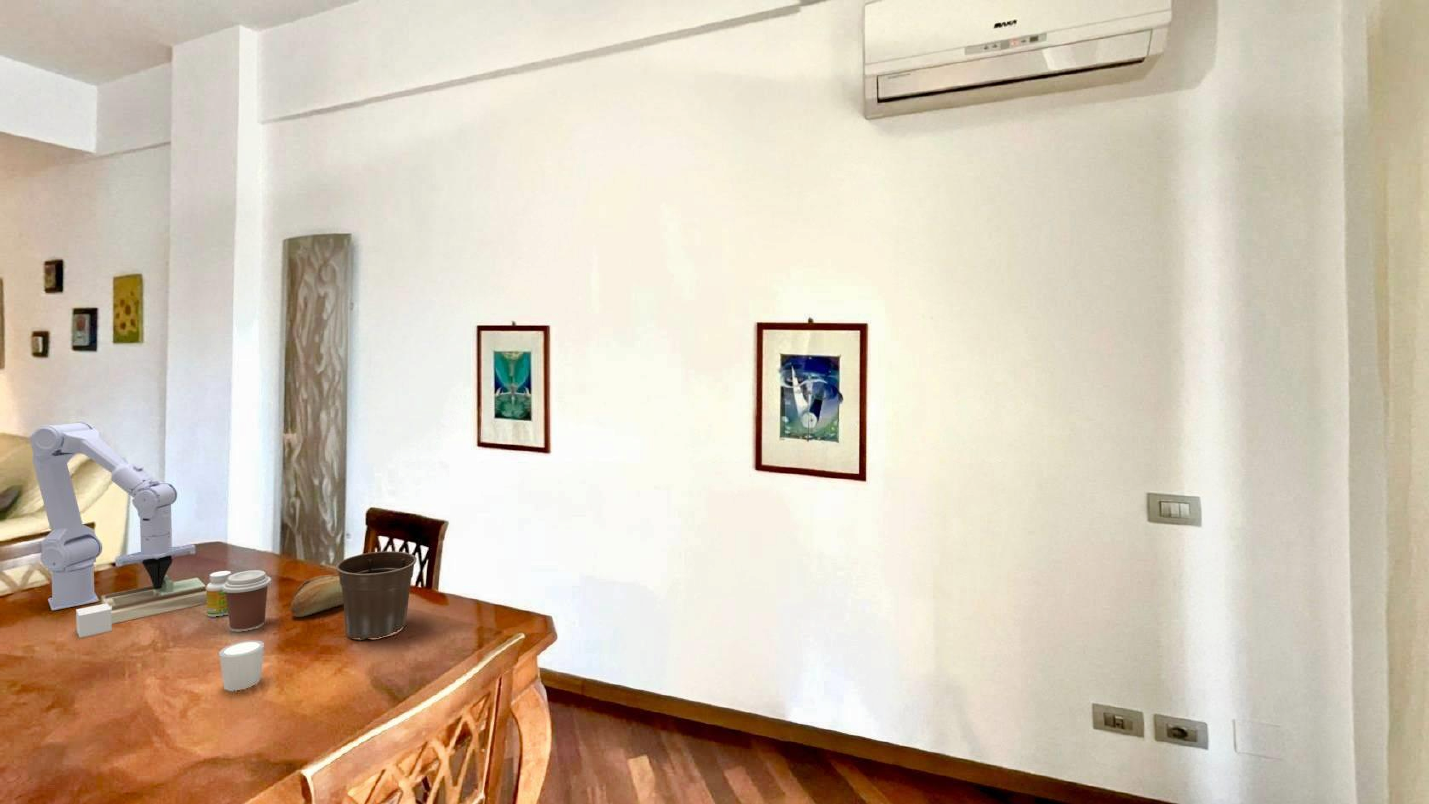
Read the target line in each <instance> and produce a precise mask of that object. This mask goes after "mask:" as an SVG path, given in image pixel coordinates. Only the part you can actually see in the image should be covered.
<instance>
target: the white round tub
mask: <svg viewBox="0 0 1429 804" xmlns="http://www.w3.org/2000/svg"><path fill="white" fill-rule="evenodd" d="M264 648H265V643H264V642H263V641H261V640H245V641H244V640H243V641H240V642H235V643H232V644H229V645H227V646H225V647H224V648H222V649H221V650H220V651H219V653H218V654H219V655H218V656H219V661H220V669H221V674H222V683H223V690H225V689H226V690H225V691H227V690H228V691H227V692H237V690H240V689H244V690H247V689H246V688H248V687H250V688H252V687H251V686H253V685H254V684H256V685H258V684H259V683H260V682H259V680H260V679H262V670H263V662H264V661H263V659H264V650H265V649H264ZM258 682H259V683H258ZM257 683H258V684H257ZM253 687H254V686H253ZM248 689H249V688H248ZM234 690H235V691H234ZM240 691H241V690H240Z"/></svg>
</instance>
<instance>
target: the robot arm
mask: <svg viewBox="0 0 1429 804" xmlns="http://www.w3.org/2000/svg"><path fill="white" fill-rule="evenodd" d="M92 425H93V424H92ZM92 425H91V423H88V422H84V421H79V422H75V423H74V422H73V423H65V424H64V423H63V424H55V425H50V424H49V425H42V426H40V427H37V428H36V429H35V430H34V432H33V433H32V434H31V435H30V436H29V443H30V445H31V450H32V453H33V454H32V464H33V468H34V471H35V472H34V473H35V476H36V479H37V483H38V484H37V485H38V487H39V490H40V491H39V492H40V495H41V498H42V501H43V506H44V510H45V513H46V517H47V518H46V519H47V521H48V524H49V529H50V532H49V533H48V534H47V535H46V537H44V539H42V540H41V542H40V546H41V552H40V561H41V564H42V565H43V567H44V568H46V570H47V571H48V572H51V591H52V592H51V594H52V597H49V598H48V599H47V601H48V604H49V607H50V609H51V611H57V610H62V609H68V608H71V607H73V608H74V607H79V606H82V605H88V604H93V603H97V602H99V601H100V600H99V598H98V596H97V593H96V592H95V575H94V574H95V573H94V572H95V571H94V569H95V567H94V566H95V565H94V563H97V558H99V556H100V555H101V554H102V552H103V544H102V542H101V539H99V538H98V537H97V535H96V532H95V529H93V528H92V527H89V526H87V525H85V524H83V520H82V516H81V512H80V509H79V505H78V500H77V498H76V497H77V496H76V494H75V493H76V492H75V489H74V486H73V481H72V477H71V474H70V473H71V472H70V469H69V466H68V463H69V461H71V459H72V458H73V457H74V456H75V455H77V454H82V455H84V456H86V457H87V458H89V459H90V460H92V461H93V462H95V463H96V464H97V465H99V466H100V467H102V468H104V469H105V470H106V471H108V472H110V473H111V481H112V482H113V483H114V484H115V485H116V486H118V487H119V488H120V489H122V490H123V491H124V492H125V493H127V494H128V495H129V496H130V497H132V498H131V502H132V505H133V507H134V508H135V509H136V511H137V516H138V518H139V526H140V527H139V528H140V533H139V534H140V551H137V552H135V553H128V554H125V555H120V556H115V566H116V567H118V568H119V567H122V566H125V565H132V564H135V563H137V564H138V563H141V564H142V566H143V567H144V568H145V570H146V572H147V574H148V575H149V578H150V580H151V584H152V585H153V588H154V589H155V590H156V589H161V588H162V584H163V580H164V577H165V575H167V572H168V570H169V569H170V567H171V565H172V563H173V557H178V556H184V555H194V554H196V545H194V544H188V545H179V546H178V545H177V546H173V537H172V535H173V534H172V531H173V529H172V526H173V525H172V505H173V504H174V503H175V502H176V501H177V499H178V491H177V489H176V488H175V487H174V485H173V484H171V483H170V482H162V481H160V480H158V479H157V478H155V477H153V476H152V475H151V474H149V473H148V472H147V471H146V470H145V469H144V467H143V466H142V465H141V464H137V463H128V462H126V461H125V460H124V459H123V458H122V457H120V456H119V454H117V453H116V452H115V451H114V450H113V449H112V448H111V447H110V446H109V445H108V444H107V443H106V442H105V441H104V440H103V439H101V432H100V431H99V430H97V429H96V428H95V427H94V426H92Z"/></svg>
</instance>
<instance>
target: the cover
mask: <svg viewBox="0 0 1429 804" xmlns="http://www.w3.org/2000/svg"><path fill="white" fill-rule="evenodd" d="M192 578H193V579H189V578H187V579H188V580H184V579H182V580H183V581H178V580H177V581H178V582H173V580H172V579H171V578H170V577H169V575H168V574H166V575H165V577H164V580H163V584H162V588H161V589H156V590H155V591H156V592H157V593H158V594H159V596H163V595H168V594H173V593H177V592H182V591H187V590H192V589H197V588H202V587H207V585H205V584H204V582H202V581H201V580H200V579H199V578H198V577H195V578H194V577H192Z"/></svg>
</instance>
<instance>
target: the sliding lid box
mask: <svg viewBox="0 0 1429 804" xmlns="http://www.w3.org/2000/svg"><path fill="white" fill-rule="evenodd" d="M193 578H196V577H190V578H185V579H180V580H174V581H173V580H172V581H173V582H178V581H183V580H188V579H193ZM206 587H207V586H206ZM206 587H202V588H197V589H192V590H187V591H182V592H177V593H173V594H168V595H163V596H159V594H158V593H157V592H156V591H155V589H154V588H153V584H152V585H147V586H142V587H137V588H131V589H128V590H123V591H122V590H121V591H116V592H112V593H106V594H104V595H101V596H100V605H101V604H106V603H108V605H109V607H110V608H111V623H112V625H113V624H119V623H123V622H127V621H132V620H136V619H142V618H145V617H149V616H154V615H159V614H164V613H167V612H172V611H177V610H183V609H186V608H190V607H195V606H200V605H205V604H207V598H206V597H207V596H206Z"/></svg>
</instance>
